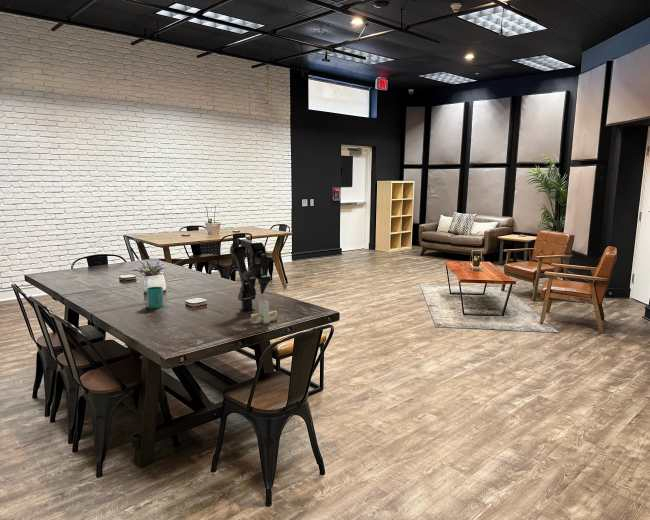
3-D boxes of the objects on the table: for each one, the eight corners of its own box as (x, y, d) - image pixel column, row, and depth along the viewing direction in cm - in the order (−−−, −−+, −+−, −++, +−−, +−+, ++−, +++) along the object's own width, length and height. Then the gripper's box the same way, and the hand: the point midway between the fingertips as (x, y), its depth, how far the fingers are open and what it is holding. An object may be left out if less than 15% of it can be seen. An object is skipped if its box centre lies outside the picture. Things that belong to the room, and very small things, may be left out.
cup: (151, 310, 278) (150, 291, 276) (146, 306, 287) (144, 287, 286) (167, 308, 283) (166, 289, 281) (161, 303, 292) (160, 285, 291)
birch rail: (252, 323, 251) (252, 315, 250) (251, 322, 252) (251, 314, 252) (277, 319, 257) (277, 311, 257) (275, 319, 259) (275, 310, 258)
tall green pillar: (259, 320, 257) (258, 300, 256) (264, 319, 259) (263, 299, 257) (264, 323, 251) (263, 302, 249) (269, 322, 253) (268, 302, 251)
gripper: (234, 264, 263) (235, 291, 266) (253, 268, 250) (254, 297, 252) (251, 261, 271) (252, 288, 273) (271, 266, 257) (271, 294, 259)
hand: (257, 292), depth 264 cm, fingers open, 9 cm apart
